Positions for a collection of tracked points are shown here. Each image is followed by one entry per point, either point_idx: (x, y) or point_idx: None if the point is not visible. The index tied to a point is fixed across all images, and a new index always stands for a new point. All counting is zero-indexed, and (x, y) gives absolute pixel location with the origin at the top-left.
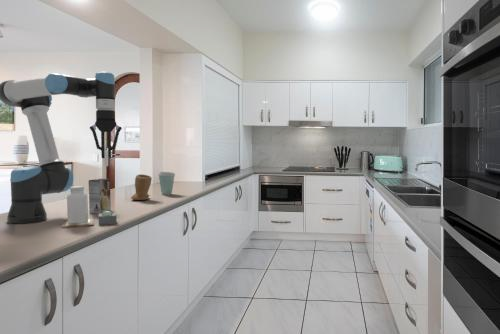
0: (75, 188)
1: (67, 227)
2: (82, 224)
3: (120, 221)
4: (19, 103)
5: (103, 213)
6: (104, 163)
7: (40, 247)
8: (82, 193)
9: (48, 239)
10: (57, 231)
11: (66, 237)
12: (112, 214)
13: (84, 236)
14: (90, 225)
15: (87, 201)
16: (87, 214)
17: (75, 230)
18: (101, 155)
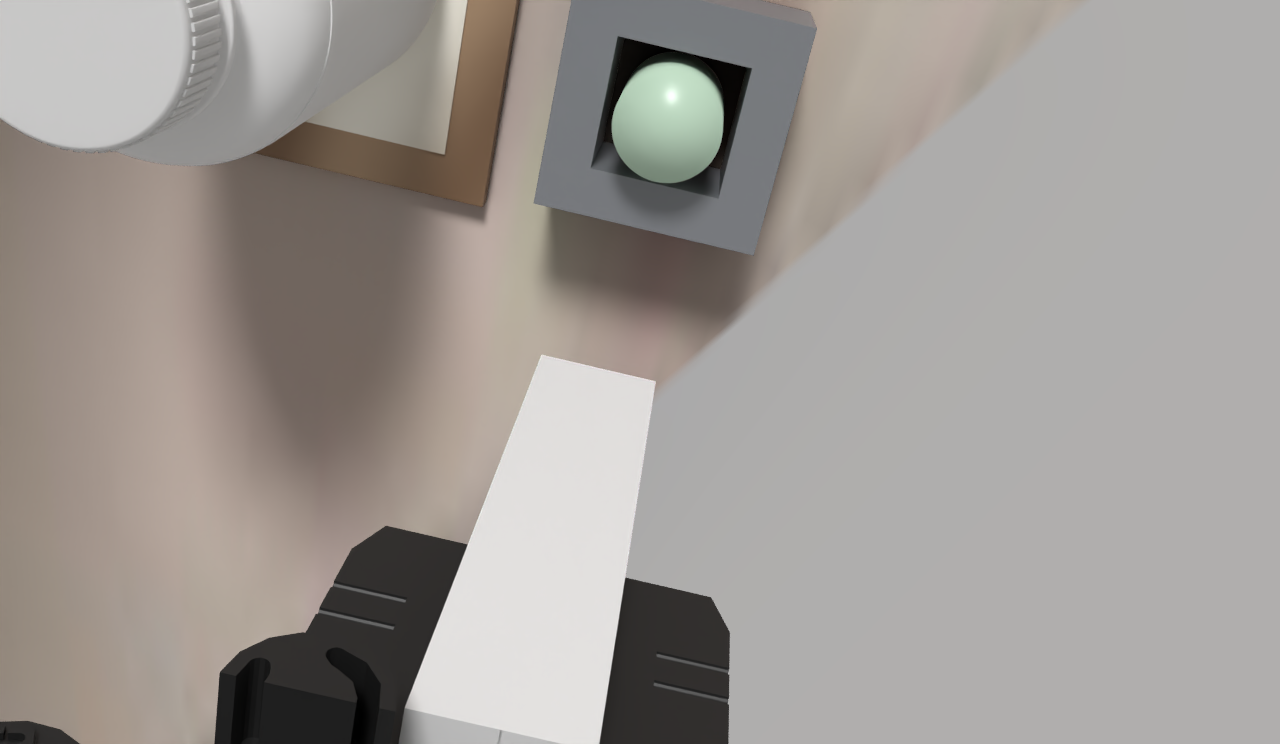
0: (45, 137)
1: None
2: (363, 133)
3: (845, 99)
4: None
5: (614, 122)
6: (523, 411)
7: None
8: (218, 112)
9: (59, 549)
10: (110, 274)
11: (197, 559)
12: (732, 150)
13: None
14: (449, 196)
15: (357, 46)
16: (410, 27)
17: (281, 325)
18: (328, 604)
